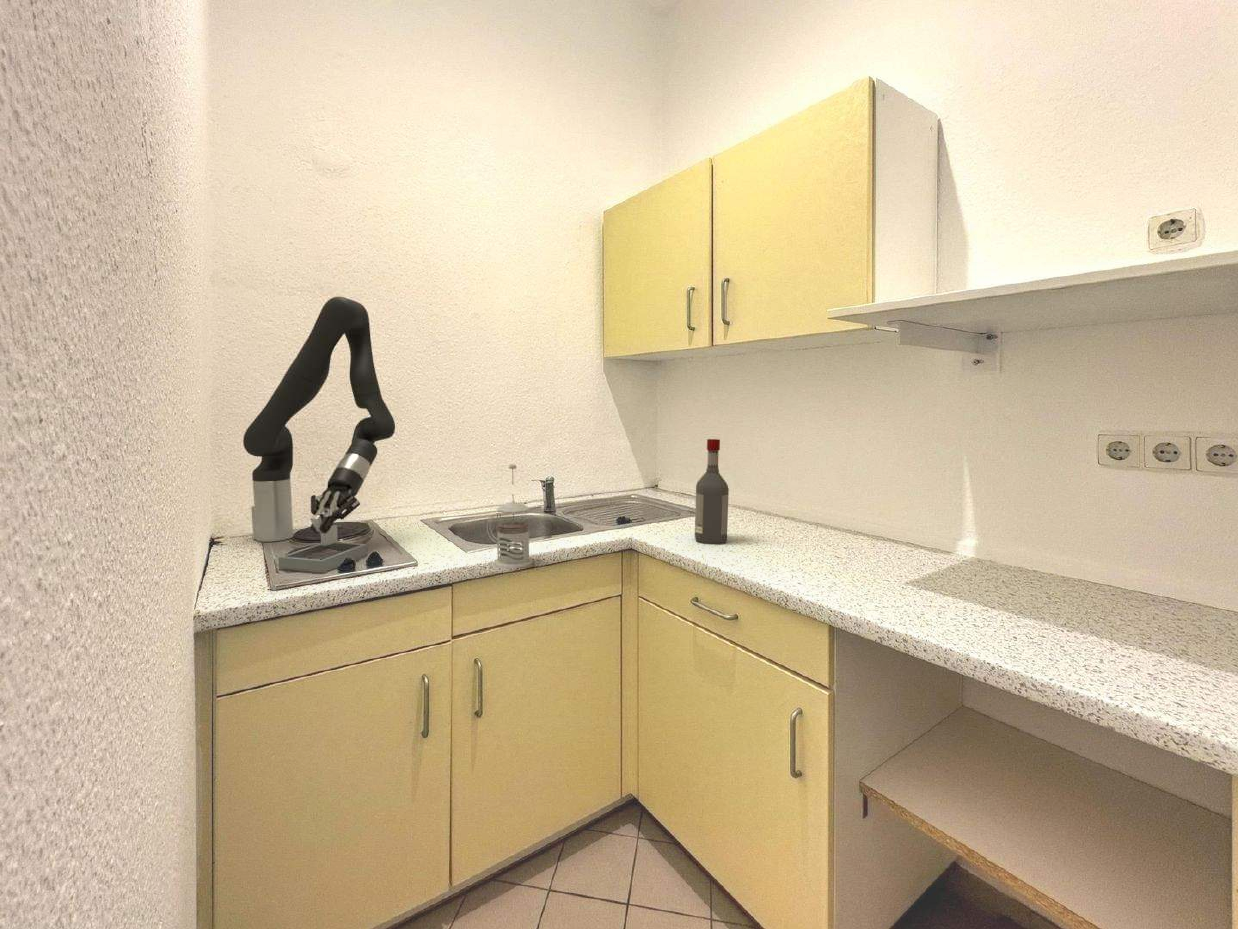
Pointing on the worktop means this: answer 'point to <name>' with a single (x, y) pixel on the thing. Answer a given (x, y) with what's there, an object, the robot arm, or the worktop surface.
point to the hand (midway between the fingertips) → (318, 531)
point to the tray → (302, 564)
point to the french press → (512, 536)
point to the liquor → (711, 501)
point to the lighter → (325, 537)
